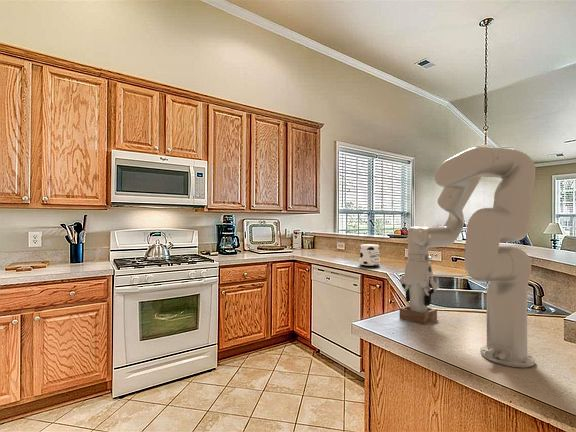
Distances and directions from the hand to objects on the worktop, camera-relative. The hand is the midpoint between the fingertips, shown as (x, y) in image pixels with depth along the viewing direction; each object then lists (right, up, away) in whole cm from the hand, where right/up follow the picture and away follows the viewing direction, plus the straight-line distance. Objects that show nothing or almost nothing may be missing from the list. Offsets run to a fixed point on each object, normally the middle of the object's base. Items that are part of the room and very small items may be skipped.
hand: (418, 302), depth 124 cm
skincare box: (0, -4, 0) cm, 4 cm away
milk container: (+17, -8, +140) cm, 142 cm away
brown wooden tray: (0, -6, 0) cm, 6 cm away
